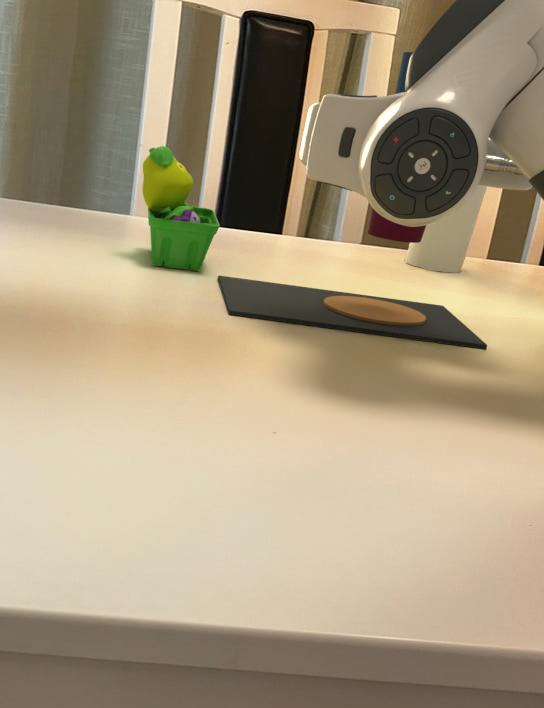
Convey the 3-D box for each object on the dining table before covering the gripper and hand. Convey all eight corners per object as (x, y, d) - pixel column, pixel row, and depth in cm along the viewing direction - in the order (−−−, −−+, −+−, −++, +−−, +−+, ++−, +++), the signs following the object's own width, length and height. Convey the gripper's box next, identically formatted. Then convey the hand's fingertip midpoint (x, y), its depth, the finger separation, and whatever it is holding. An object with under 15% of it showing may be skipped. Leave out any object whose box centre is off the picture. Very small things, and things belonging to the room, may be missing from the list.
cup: (361, 237, 93) (409, 50, 85) (354, 227, 99) (398, 51, 91) (435, 248, 92) (490, 61, 85) (424, 237, 98) (474, 62, 91)
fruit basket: (212, 275, 107) (233, 160, 102) (129, 265, 107) (146, 148, 101) (205, 256, 117) (224, 149, 111) (130, 246, 117) (145, 139, 111)
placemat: (442, 309, 106) (444, 302, 106) (486, 349, 93) (488, 341, 92) (217, 279, 106) (218, 272, 106) (228, 314, 93) (230, 306, 92)
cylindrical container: (403, 264, 128) (466, 38, 115) (406, 256, 134) (466, 40, 121) (460, 275, 126) (531, 46, 114) (461, 266, 132) (528, 48, 119)
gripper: (569, 128, 77) (548, 122, 89) (305, 90, 81) (317, 90, 93) (540, 215, 80) (523, 199, 92) (286, 175, 84) (301, 164, 96)
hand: (418, 144), depth 92 cm, fingers closed on cup, 6 cm apart
